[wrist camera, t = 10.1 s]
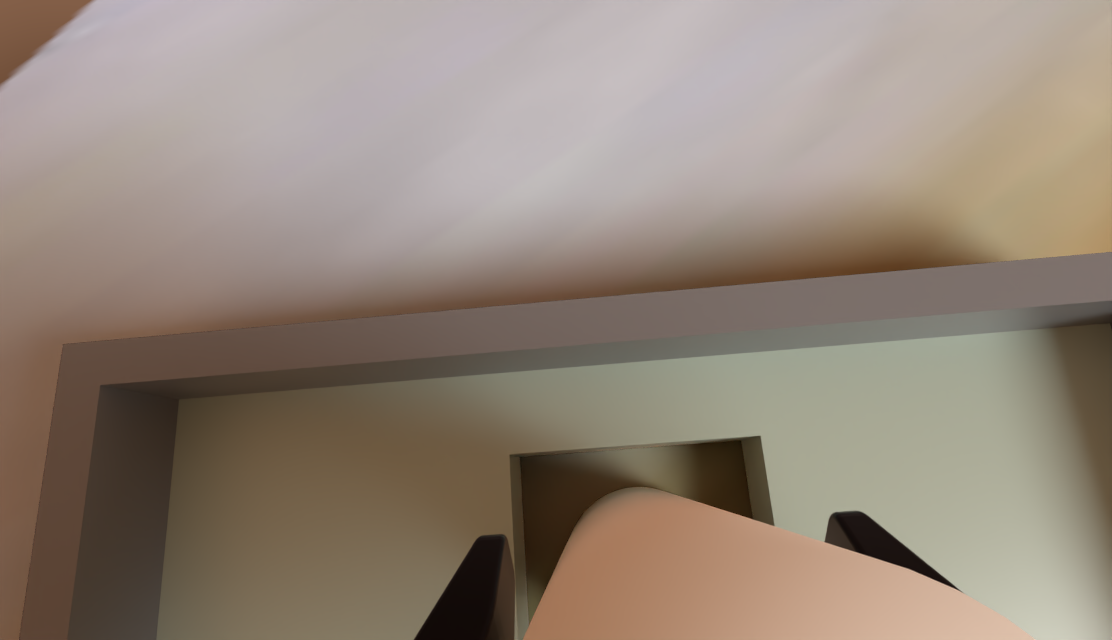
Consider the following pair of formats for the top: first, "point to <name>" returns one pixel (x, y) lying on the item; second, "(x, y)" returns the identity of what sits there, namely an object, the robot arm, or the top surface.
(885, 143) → the top surface
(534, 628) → the peg
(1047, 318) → the tray
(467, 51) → the top surface
